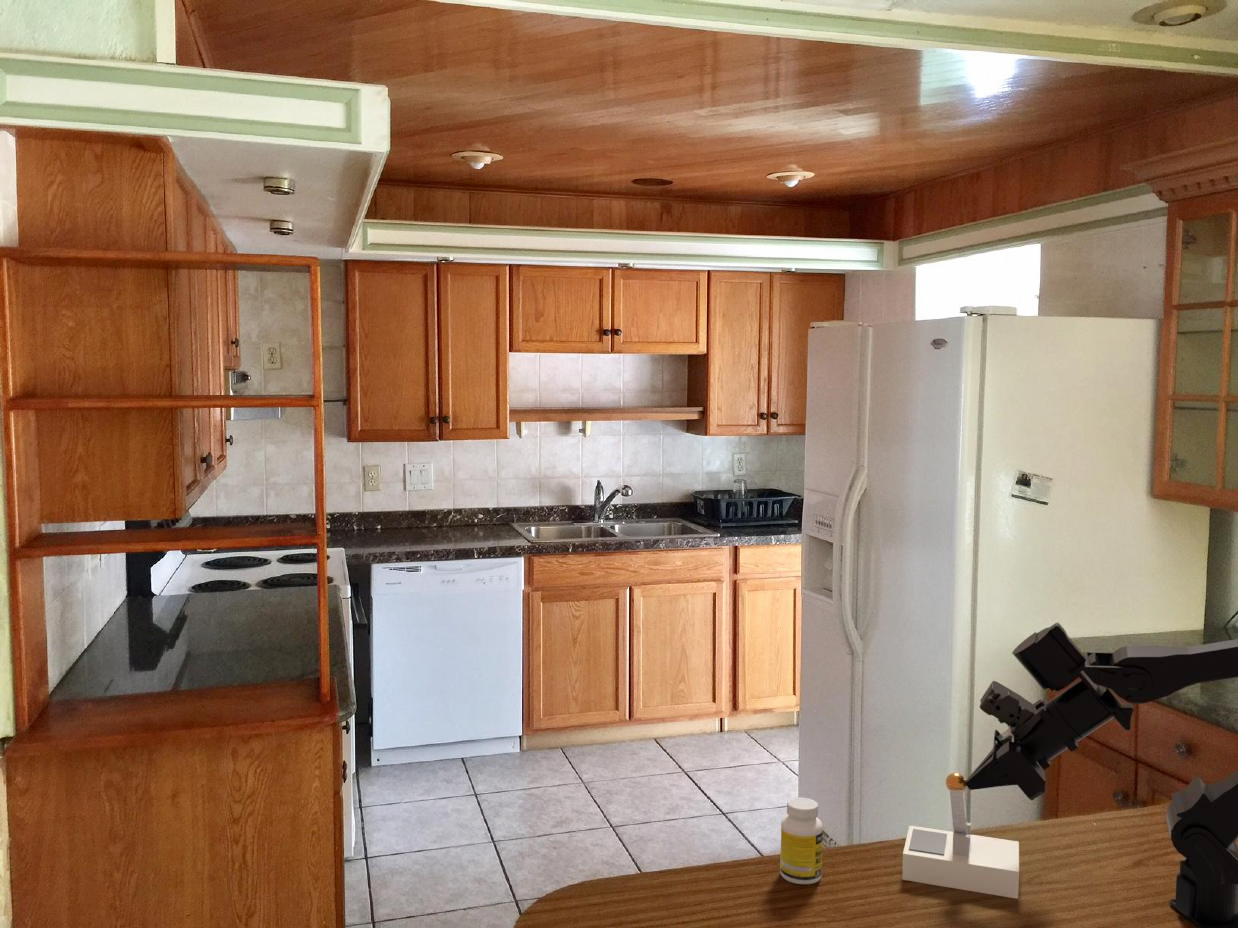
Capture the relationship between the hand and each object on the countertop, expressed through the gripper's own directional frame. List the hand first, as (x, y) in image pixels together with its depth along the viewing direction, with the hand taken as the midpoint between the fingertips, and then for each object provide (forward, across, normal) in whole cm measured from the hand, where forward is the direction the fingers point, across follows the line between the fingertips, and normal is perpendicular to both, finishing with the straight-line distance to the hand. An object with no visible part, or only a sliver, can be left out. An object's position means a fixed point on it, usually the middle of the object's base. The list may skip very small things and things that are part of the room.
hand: (967, 785), depth 134 cm
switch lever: (+5, 0, +5) cm, 7 cm away
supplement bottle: (+23, +8, -4) cm, 25 cm away
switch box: (+8, 0, +8) cm, 12 cm away
